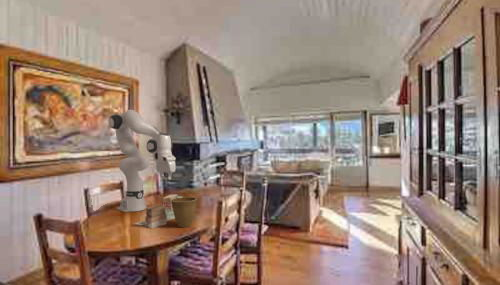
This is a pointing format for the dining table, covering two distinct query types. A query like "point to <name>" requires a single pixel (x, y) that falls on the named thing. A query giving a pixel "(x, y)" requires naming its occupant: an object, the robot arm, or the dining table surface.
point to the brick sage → (170, 214)
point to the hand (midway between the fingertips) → (165, 179)
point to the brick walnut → (155, 211)
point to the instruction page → (140, 223)
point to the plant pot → (184, 210)
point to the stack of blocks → (169, 201)
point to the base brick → (155, 221)
